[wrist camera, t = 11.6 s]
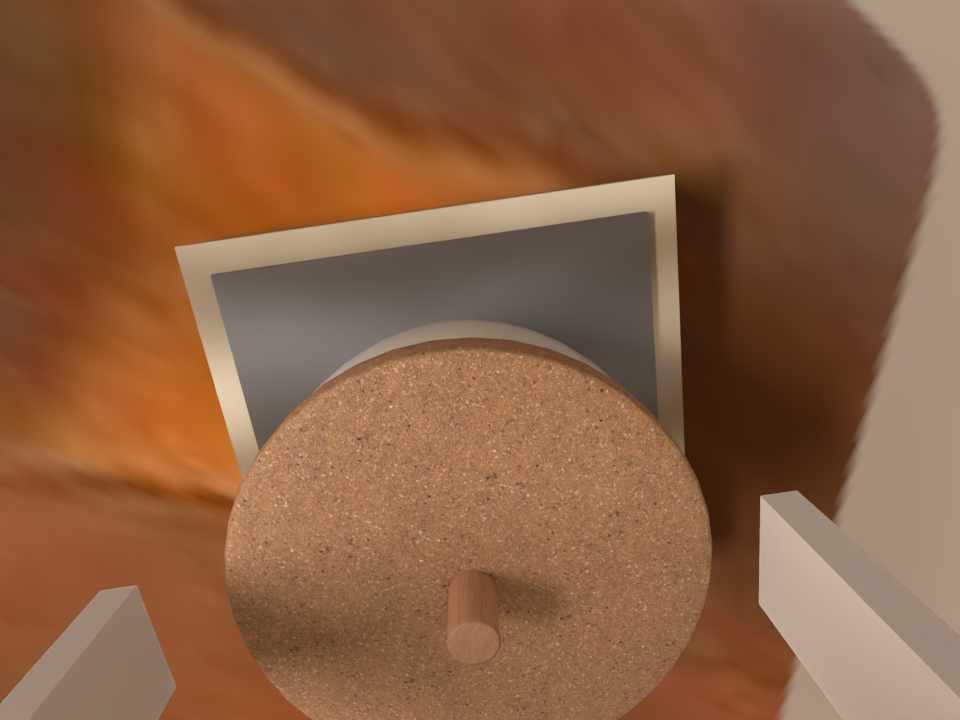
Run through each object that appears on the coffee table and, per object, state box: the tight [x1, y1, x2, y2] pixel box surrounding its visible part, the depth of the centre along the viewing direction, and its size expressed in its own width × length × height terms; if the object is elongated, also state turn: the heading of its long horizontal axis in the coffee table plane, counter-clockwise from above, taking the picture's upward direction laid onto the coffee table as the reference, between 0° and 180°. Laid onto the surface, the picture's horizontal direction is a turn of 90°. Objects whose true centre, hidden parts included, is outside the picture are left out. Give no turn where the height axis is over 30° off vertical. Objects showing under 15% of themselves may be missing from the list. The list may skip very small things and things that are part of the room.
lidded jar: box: [224, 320, 712, 720], centre depth 15 cm, size 11×11×9 cm
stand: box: [175, 175, 685, 480], centre depth 21 cm, size 16×16×3 cm
